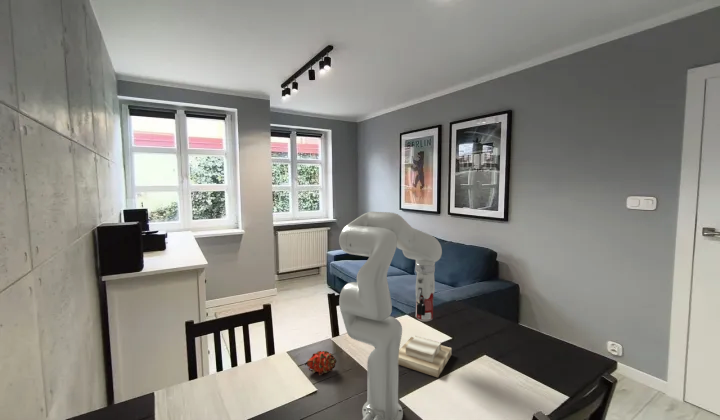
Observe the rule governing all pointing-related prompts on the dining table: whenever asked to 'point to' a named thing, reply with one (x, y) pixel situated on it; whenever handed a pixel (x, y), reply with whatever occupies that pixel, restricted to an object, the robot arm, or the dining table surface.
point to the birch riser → (424, 355)
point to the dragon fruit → (321, 362)
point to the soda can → (426, 309)
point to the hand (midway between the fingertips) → (424, 310)
